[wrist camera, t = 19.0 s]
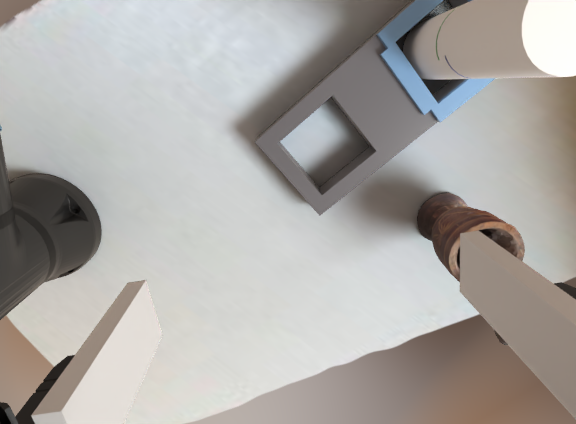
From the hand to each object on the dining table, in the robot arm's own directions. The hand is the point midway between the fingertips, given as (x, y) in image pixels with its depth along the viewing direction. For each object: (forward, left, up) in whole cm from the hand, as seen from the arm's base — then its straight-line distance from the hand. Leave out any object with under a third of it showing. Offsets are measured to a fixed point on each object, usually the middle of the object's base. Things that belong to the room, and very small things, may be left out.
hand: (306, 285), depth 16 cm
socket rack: (+9, +9, -38) cm, 40 cm away
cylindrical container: (+14, +17, -38) cm, 44 cm away
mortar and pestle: (+25, -5, -38) cm, 46 cm away
